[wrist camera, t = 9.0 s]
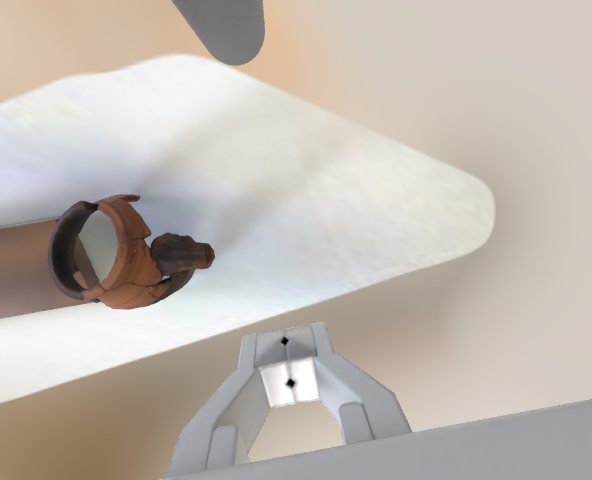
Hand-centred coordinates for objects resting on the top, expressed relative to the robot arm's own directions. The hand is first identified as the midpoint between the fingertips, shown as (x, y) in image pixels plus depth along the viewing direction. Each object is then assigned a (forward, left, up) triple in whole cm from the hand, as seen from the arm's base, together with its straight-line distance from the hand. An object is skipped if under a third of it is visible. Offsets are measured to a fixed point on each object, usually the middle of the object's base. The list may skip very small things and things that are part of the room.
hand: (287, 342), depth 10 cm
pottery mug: (0, -11, -17) cm, 20 cm away
